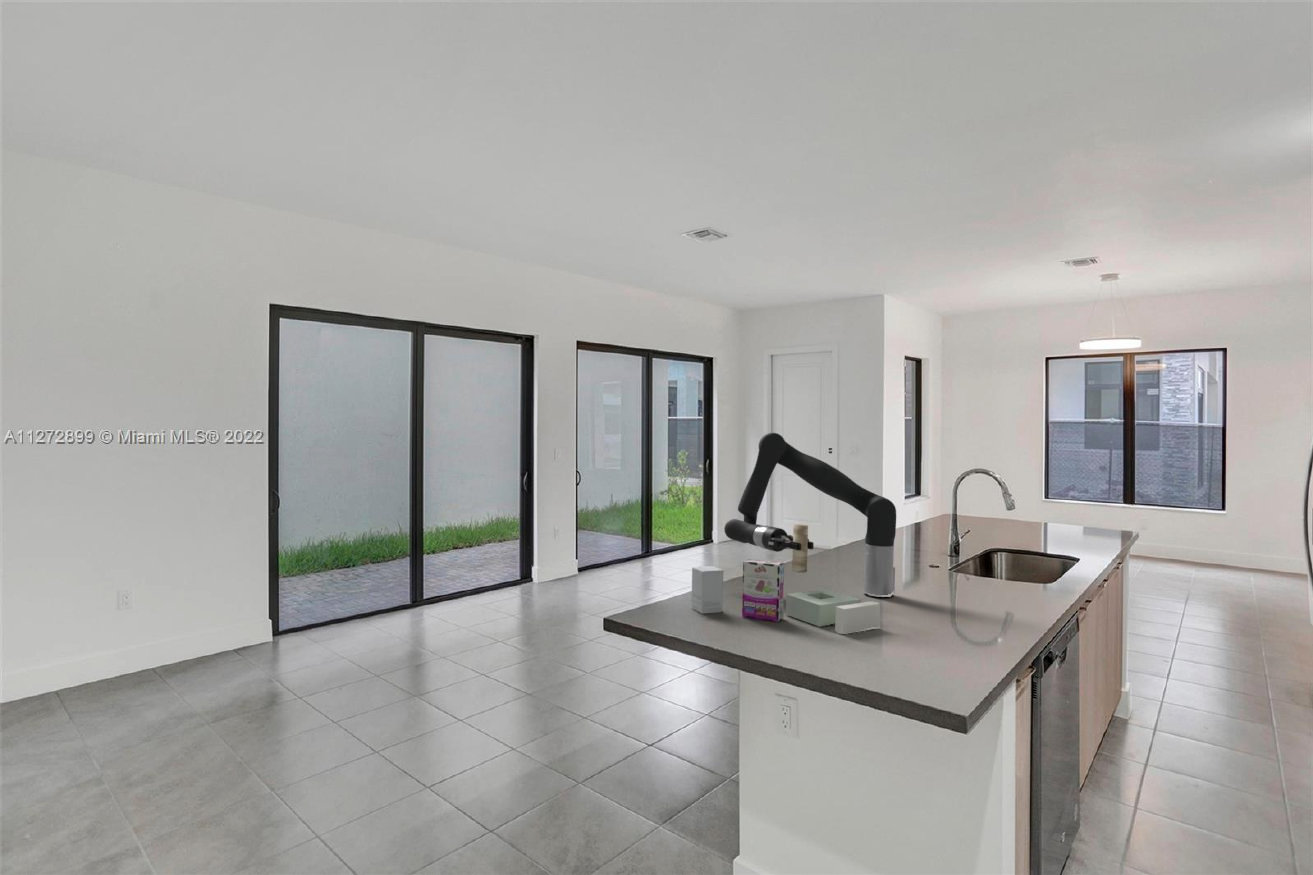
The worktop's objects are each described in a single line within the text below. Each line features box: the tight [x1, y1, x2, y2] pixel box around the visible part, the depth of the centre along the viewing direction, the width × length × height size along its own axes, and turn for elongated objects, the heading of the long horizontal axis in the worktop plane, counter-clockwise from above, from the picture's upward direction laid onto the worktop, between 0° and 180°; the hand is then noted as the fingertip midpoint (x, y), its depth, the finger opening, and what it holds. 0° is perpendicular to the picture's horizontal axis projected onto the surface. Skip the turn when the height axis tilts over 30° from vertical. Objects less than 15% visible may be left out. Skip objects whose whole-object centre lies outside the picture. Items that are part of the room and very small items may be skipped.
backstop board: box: [834, 600, 881, 634], centre depth 186 cm, size 14×3×7 cm, turn 120°
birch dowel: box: [791, 524, 809, 574], centre depth 206 cm, size 4×4×14 cm
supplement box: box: [690, 565, 724, 614], centre depth 203 cm, size 7×7×13 cm
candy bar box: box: [741, 559, 785, 623], centre depth 196 cm, size 11×5×16 cm, turn 62°
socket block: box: [785, 588, 862, 628], centre depth 197 cm, size 16×14×6 cm
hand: (806, 546), depth 204 cm, fingers closed on birch dowel, 4 cm apart
